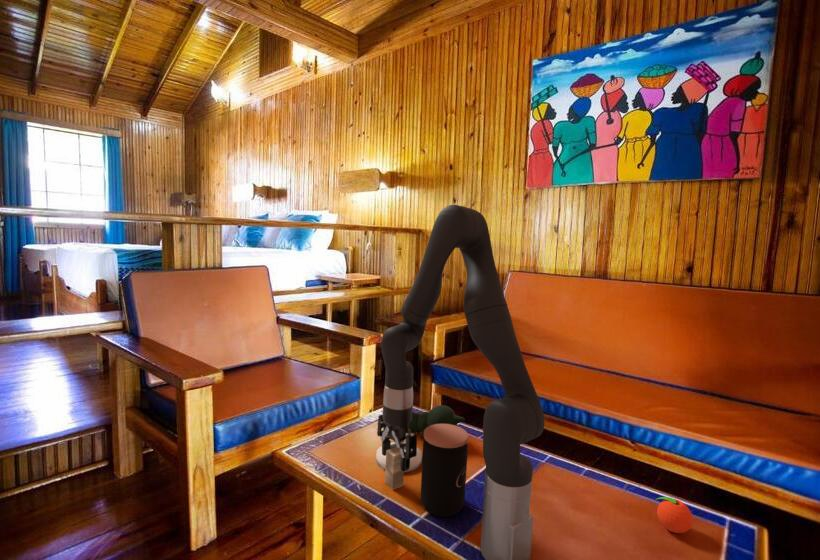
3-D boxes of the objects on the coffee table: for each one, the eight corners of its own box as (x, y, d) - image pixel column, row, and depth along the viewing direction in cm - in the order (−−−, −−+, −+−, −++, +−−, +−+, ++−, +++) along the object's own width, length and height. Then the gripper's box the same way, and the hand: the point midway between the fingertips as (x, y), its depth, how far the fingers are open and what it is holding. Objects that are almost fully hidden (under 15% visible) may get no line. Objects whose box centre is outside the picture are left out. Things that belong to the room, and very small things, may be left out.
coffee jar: (462, 522, 99) (466, 447, 96) (416, 514, 101) (419, 440, 98) (465, 494, 109) (470, 426, 107) (424, 487, 111) (427, 420, 109)
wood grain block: (403, 485, 112) (404, 452, 111) (392, 490, 110) (393, 456, 109) (395, 479, 114) (396, 446, 113) (384, 483, 112) (386, 450, 111)
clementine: (646, 526, 100) (649, 497, 99) (655, 513, 105) (659, 485, 104) (686, 545, 94) (690, 514, 93) (694, 530, 99) (698, 501, 98)
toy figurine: (388, 437, 141) (460, 452, 128) (385, 380, 139) (458, 389, 127) (402, 426, 149) (471, 439, 137) (400, 372, 147) (469, 380, 135)
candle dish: (430, 463, 123) (431, 451, 122) (393, 477, 115) (393, 465, 114) (403, 444, 133) (404, 433, 133) (367, 456, 125) (367, 444, 125)
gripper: (427, 409, 106) (423, 470, 108) (394, 389, 117) (391, 445, 120) (402, 416, 102) (399, 480, 104) (370, 395, 113) (368, 453, 115)
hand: (395, 461), depth 112 cm, fingers open, 8 cm apart
